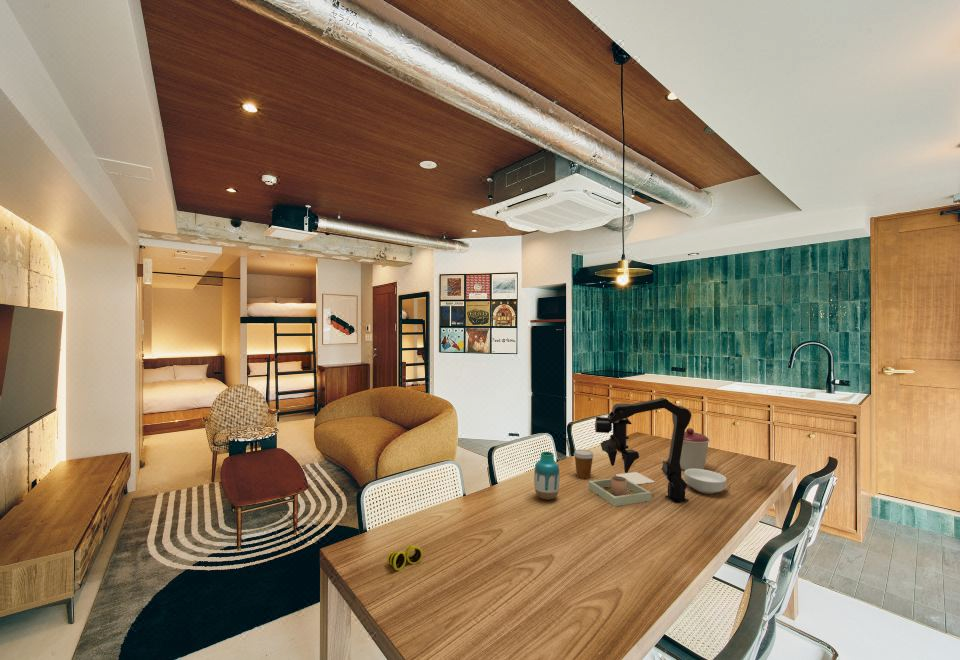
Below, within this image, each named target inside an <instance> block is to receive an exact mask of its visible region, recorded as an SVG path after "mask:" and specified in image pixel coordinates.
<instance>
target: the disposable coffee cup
mask: <svg viewBox="0 0 960 660" xmlns="http://www.w3.org/2000/svg"><path fill="white" fill-rule="evenodd" d="M573 456H574V462H575V471H576V473H575V474H576V477H577V476H578V477H577V478H579V477H581V478H580V479H582V478H588V479H590V478H589V477H591V473H592V466H593V458H594V456H595V455H594V453H593V451H591V450H588V449H582V448H581V449H575V450H574V453H573Z"/></svg>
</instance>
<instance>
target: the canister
mask: <svg viewBox="0 0 960 660" xmlns="http://www.w3.org/2000/svg"><path fill="white" fill-rule="evenodd" d="M672 434H673V433H671V434H670V436H671V438H672ZM709 442H711V439H710V438H709V437H707V436H706V435H704V434H702V433H698V432H695V430H694V429H693V428H690V427H689V428H686V429H685V433H684V439H683V446H682V452H681V458H680V466H681V470H682V471H685V470H687V469H704V470H705V466H706V461H707V454H708V447H709Z"/></svg>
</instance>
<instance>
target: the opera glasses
mask: <svg viewBox="0 0 960 660" xmlns="http://www.w3.org/2000/svg"><path fill="white" fill-rule="evenodd" d="M413 550H414V553H412V555H410V553H411V551H413ZM423 554H424V553H423V550H422V548H421V547H419V546H417V545H416V546H415V545H412V544H411V545H408V546H407V547H406V548H405V552H404V551H403V550H401V551H397V552H396V551H391V552H389V554H388V556H387V563H388V565H390V566H391V567H393V569H394V570H395V571H401V570H403V568H404V567H405V565H406V562H408V563H409V564H411V565H415V564H416V565H417V564H418V563H420V562H421V560H422V558H423ZM409 555H410V556H409Z"/></svg>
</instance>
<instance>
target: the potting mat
mask: <svg viewBox="0 0 960 660" xmlns="http://www.w3.org/2000/svg"><path fill="white" fill-rule="evenodd" d="M615 475H616V476H620V477H624V478H626V479H627V480H629V481H631V482H633V483H635V484H636V485H638V484H642V485H647V484H646V483H649V484H655V483H656V481H655V480H653V479H651V478H649V477H647V476H645V475H643V474H642V473H639V472H637V471H634V472H627V473H625V472H624V473H618V474H617V473H616V474H615ZM654 482H655V483H654ZM638 486H639V485H638Z"/></svg>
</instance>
